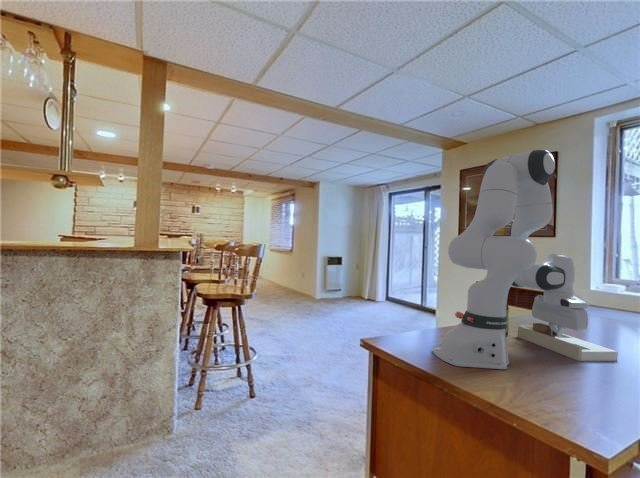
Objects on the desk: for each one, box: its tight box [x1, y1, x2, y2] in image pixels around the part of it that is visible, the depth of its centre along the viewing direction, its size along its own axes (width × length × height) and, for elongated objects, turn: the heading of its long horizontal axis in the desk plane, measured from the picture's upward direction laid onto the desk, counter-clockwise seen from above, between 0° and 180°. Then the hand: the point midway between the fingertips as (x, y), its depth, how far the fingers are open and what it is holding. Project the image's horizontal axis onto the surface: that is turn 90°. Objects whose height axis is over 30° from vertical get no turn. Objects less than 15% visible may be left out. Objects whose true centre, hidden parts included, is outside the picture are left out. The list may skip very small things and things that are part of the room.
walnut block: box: [532, 322, 555, 338], centre depth 123 cm, size 5×5×4 cm
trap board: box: [517, 325, 619, 362], centre depth 119 cm, size 15×26×4 cm, turn 9°
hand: (556, 336), depth 119 cm, fingers closed
